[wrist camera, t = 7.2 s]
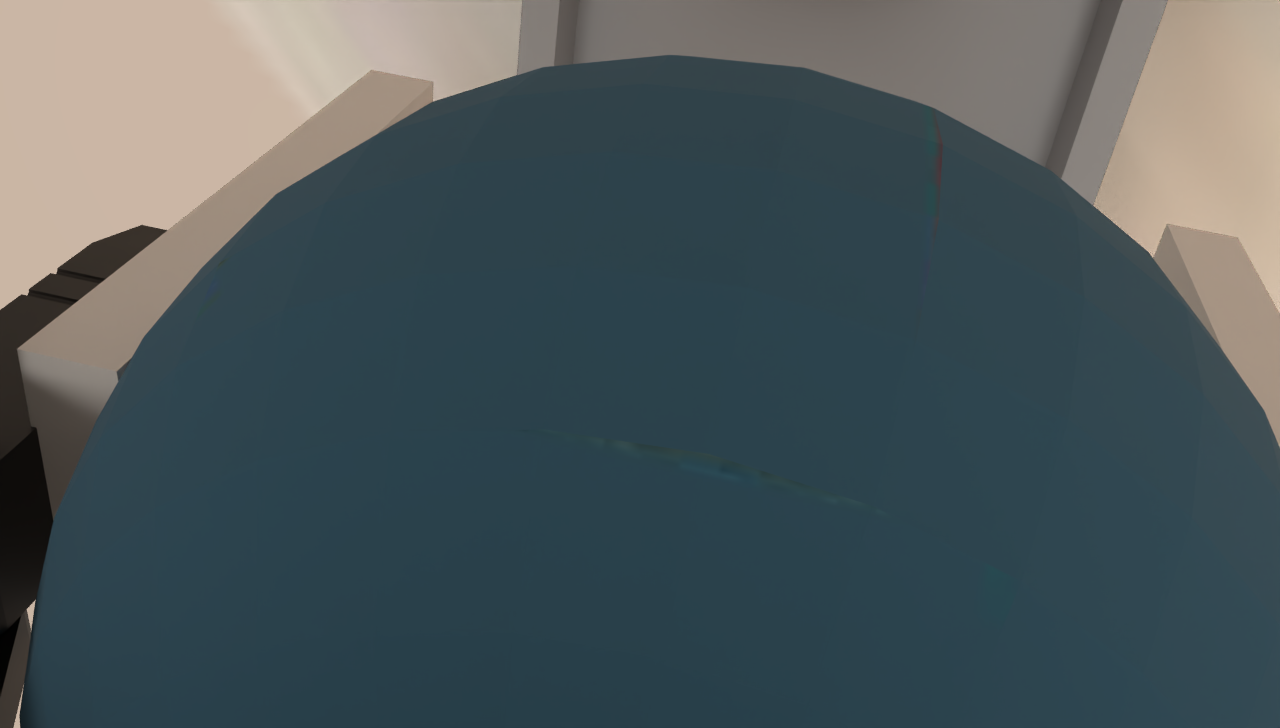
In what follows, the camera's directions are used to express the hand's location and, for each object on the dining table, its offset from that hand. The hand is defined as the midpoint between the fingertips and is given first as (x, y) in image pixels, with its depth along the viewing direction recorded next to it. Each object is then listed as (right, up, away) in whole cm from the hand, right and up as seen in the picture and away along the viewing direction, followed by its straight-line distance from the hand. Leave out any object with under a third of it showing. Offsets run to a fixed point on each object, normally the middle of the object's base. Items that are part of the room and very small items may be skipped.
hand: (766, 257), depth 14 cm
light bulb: (0, +1, +1) cm, 2 cm away
